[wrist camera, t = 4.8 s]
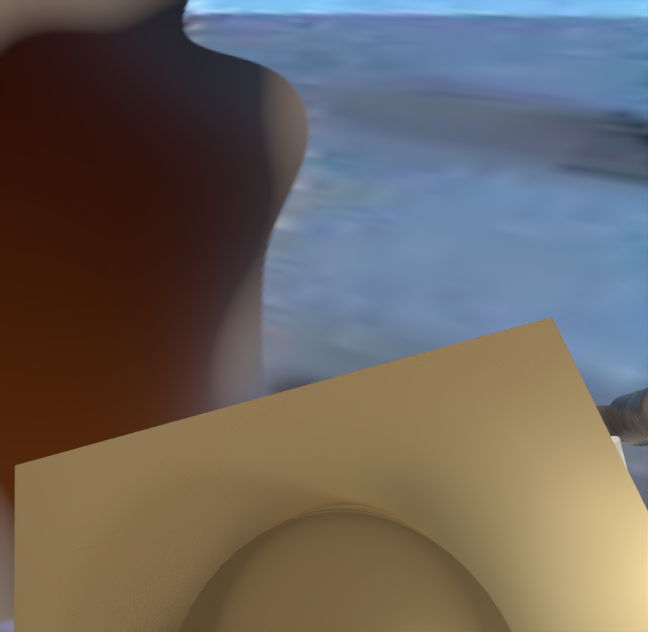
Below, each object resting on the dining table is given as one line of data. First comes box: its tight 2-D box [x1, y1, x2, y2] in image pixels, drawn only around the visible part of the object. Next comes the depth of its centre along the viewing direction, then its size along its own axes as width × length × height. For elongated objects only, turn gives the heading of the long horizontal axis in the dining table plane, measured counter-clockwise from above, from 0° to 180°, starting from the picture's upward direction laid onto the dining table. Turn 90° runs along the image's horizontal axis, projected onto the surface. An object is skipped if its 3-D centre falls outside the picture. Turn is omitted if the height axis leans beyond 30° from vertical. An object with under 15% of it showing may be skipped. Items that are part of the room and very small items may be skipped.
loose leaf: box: [14, 317, 648, 632], centre depth 9 cm, size 4×5×14 cm
